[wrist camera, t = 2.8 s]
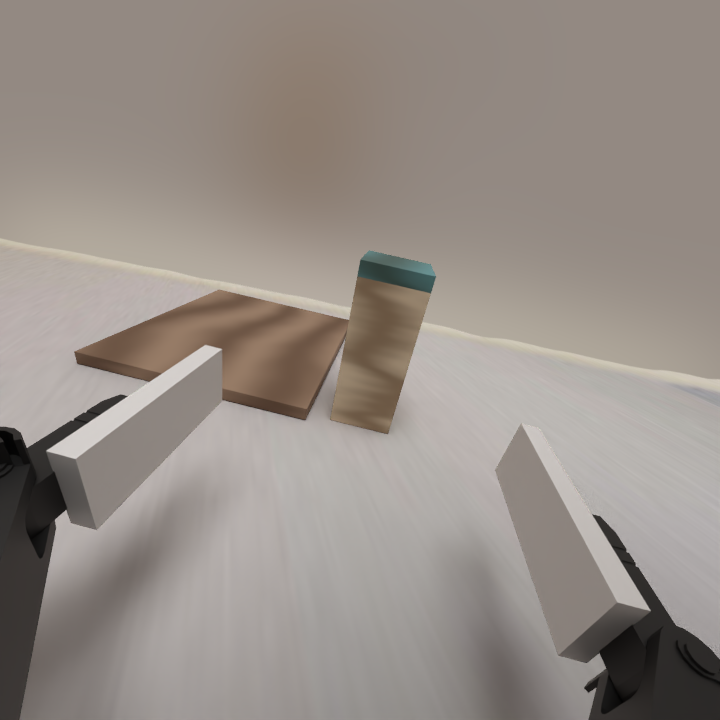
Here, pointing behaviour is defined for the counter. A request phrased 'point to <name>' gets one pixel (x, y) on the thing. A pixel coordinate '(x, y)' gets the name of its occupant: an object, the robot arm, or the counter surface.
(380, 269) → the maple block
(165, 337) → the walnut board
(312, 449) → the counter surface
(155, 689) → the counter surface
